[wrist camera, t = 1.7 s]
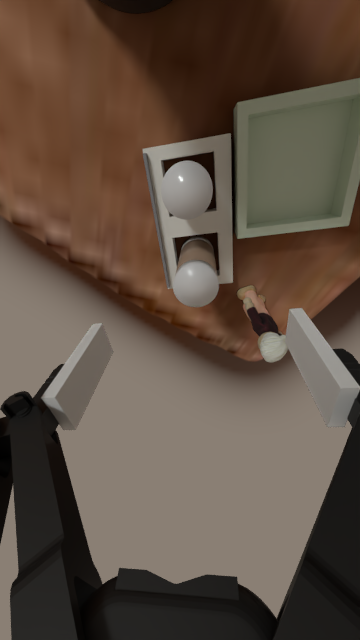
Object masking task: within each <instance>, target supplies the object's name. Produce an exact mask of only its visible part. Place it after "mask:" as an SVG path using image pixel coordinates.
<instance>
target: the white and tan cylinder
mask: <svg viewBox="0 0 360 640" xmlns="http://www.w3.org/2000/svg"><path fill="white" fill-rule="evenodd" d="M173 290H174V293H175V296H176V297H177V299H178V300H179V301H180V302H182V303H183V304H185V305H187V306H190V307H202V306H205V305H207V304H209V303H210V302H212V301H213V300H214V298H215V297H216V295H217V293H218V290H219V283H218V276H217V270H216V263H215V257H214V250H213V246H212V244H211V242H210V241H209V240H208V239H206V238H204V237H202V236H194V237H191V238H189V239H188V240H186V241H185V243H184V244H183V246H182V249H181V253H180V258H179V262H178V266H177V270H176V274H175V278H174V283H173Z"/></svg>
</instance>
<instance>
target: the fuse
mask: <svg viewBox="0 0 360 640" xmlns="http://www.w3.org/2000/svg"><path fill="white" fill-rule="evenodd" d="M212 194H213V186H212V181H211V178H210V176H209V174H208V172H207V171H206V169H205V168H204V167H203V166H201V165H200V164H198V163H196V162H194V161H181V162H178V163H176V164H174V165H173V166H172V167H170V169H169V170H168V171H167V172H166V174H165V176H164V178H163V181H162V185H161V196H162V200H163V203H164V205H165V207H166V208H167V210H168V211H169V212H170V213H171V214H172V215H173V216H175V217H177V218H179V219H184V220H190V219H194V218H196V217H198V216H200V215H201V214H202V213H204V212H205V210H206V209H207V208H208V206H209V204H210V202H211V199H212Z"/></svg>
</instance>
